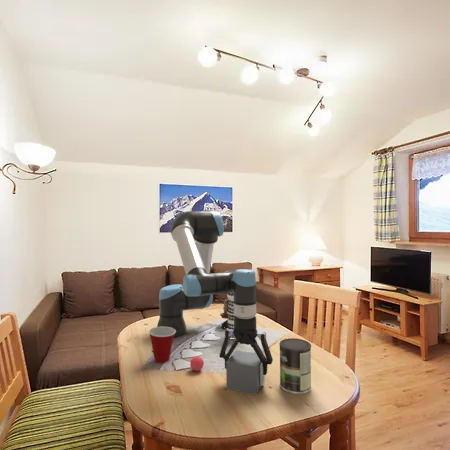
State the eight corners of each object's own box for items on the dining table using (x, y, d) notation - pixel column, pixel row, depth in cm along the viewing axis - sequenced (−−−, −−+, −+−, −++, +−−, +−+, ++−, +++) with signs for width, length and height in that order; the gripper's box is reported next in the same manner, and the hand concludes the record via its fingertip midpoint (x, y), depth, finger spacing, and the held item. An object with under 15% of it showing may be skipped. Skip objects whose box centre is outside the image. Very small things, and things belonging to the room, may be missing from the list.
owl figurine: (223, 331, 160) (223, 297, 160) (217, 324, 171) (216, 293, 171) (256, 327, 165) (255, 294, 165) (247, 321, 176) (247, 290, 177)
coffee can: (284, 395, 99) (284, 350, 99) (276, 379, 109) (276, 338, 109) (316, 393, 100) (315, 349, 100) (305, 377, 110) (304, 337, 110)
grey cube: (236, 374, 112) (235, 350, 113) (264, 379, 109) (263, 354, 109) (226, 388, 103) (226, 362, 103) (256, 394, 99) (256, 366, 99)
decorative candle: (241, 332, 157) (240, 282, 157) (248, 338, 148) (247, 285, 148) (224, 334, 154) (223, 283, 154) (230, 341, 145) (229, 287, 145)
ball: (193, 366, 120) (193, 353, 120) (205, 368, 118) (205, 355, 118) (187, 372, 115) (187, 358, 115) (200, 374, 113) (200, 360, 113)
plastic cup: (170, 366, 120) (170, 335, 120) (144, 364, 122) (143, 333, 122) (180, 355, 130) (179, 326, 130) (155, 353, 132) (155, 325, 132)
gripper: (209, 315, 106) (209, 380, 106) (277, 322, 99) (278, 392, 98) (217, 310, 114) (217, 371, 113) (281, 315, 106) (282, 381, 106)
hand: (245, 381), depth 106 cm, fingers open, 11 cm apart
